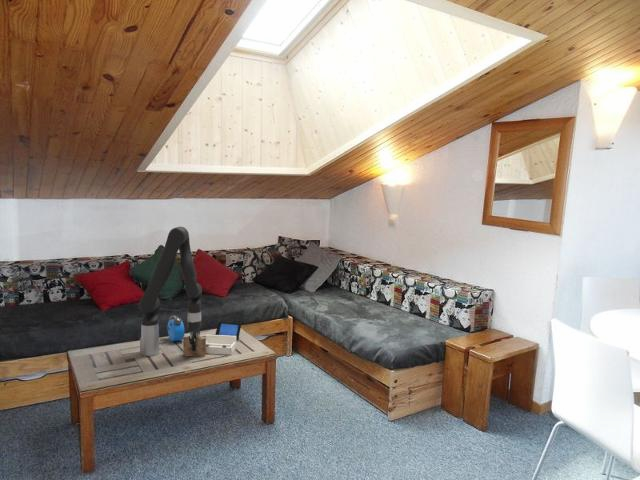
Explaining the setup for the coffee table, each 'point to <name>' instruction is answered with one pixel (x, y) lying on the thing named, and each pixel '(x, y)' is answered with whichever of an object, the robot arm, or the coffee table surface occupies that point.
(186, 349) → the door panel
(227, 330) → the handheld game console
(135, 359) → the coffee table surface
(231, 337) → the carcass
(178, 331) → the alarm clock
